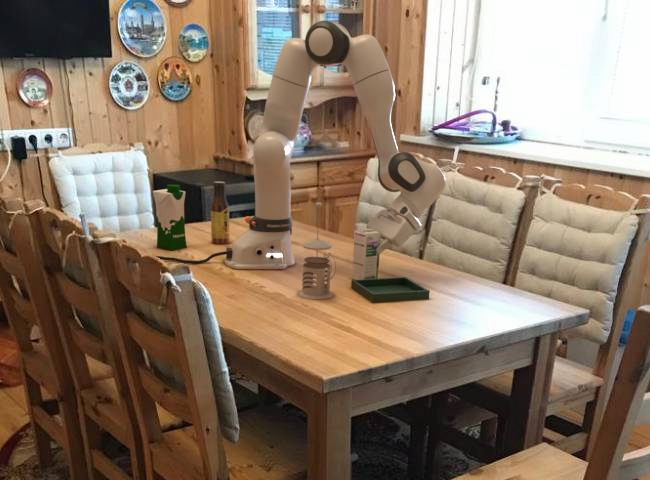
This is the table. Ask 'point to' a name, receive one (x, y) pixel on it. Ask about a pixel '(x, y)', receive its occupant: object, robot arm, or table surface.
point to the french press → (317, 269)
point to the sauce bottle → (219, 215)
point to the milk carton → (170, 217)
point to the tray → (389, 289)
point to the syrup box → (366, 254)
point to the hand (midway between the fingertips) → (370, 248)
